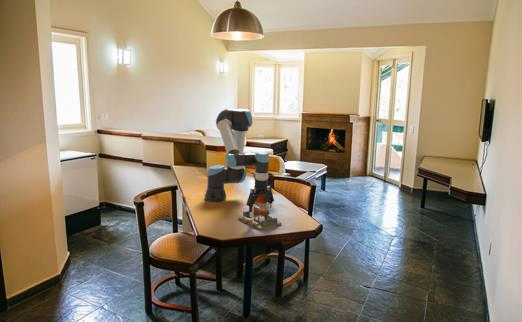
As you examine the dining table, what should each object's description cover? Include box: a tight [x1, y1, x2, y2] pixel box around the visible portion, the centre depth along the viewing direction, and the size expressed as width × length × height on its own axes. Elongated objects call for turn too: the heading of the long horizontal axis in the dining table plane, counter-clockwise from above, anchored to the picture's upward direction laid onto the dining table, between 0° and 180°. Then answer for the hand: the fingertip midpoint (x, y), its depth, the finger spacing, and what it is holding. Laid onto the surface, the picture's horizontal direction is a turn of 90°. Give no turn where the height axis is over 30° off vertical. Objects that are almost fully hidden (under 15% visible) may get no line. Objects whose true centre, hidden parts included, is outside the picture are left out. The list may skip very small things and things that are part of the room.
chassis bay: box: [237, 209, 283, 231], centre depth 212 cm, size 21×16×4 cm
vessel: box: [253, 172, 275, 205], centre depth 252 cm, size 14×14×20 cm
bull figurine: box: [253, 203, 270, 220], centre depth 211 cm, size 4×13×8 cm, turn 47°
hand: (259, 215), depth 212 cm, fingers open, 11 cm apart
